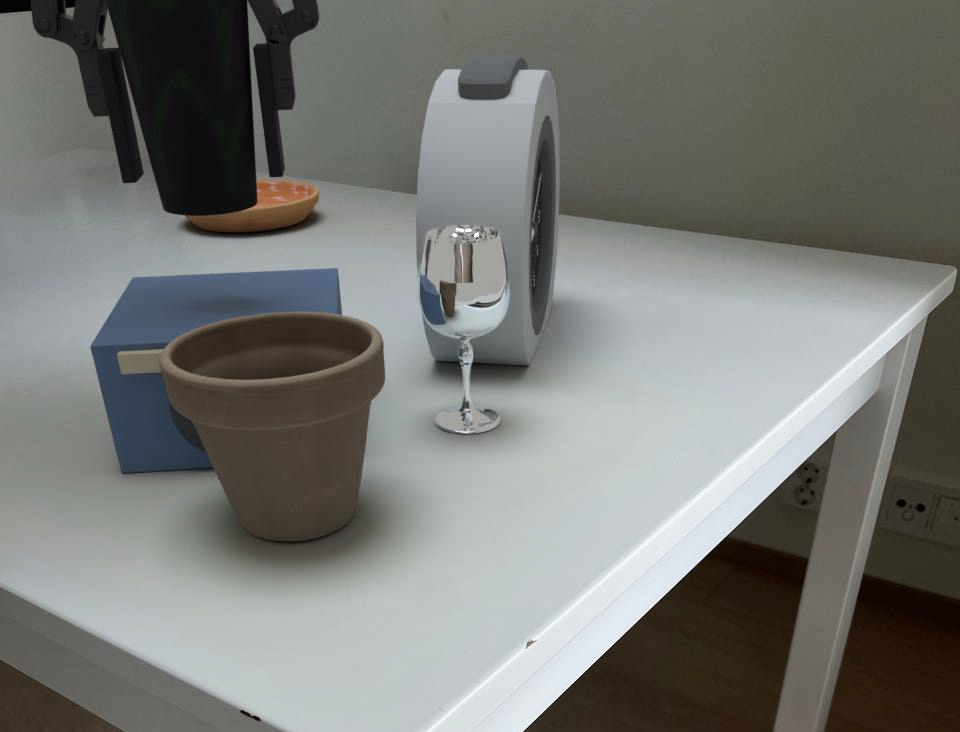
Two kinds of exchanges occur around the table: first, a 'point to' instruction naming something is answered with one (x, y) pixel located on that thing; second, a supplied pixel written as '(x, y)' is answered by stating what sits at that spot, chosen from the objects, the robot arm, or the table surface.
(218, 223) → the saucer
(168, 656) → the table surface
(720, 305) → the table surface
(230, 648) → the table surface
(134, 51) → the cup
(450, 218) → the alarm clock
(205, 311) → the blue tabbed box
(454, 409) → the wineglass
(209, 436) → the flower pot
